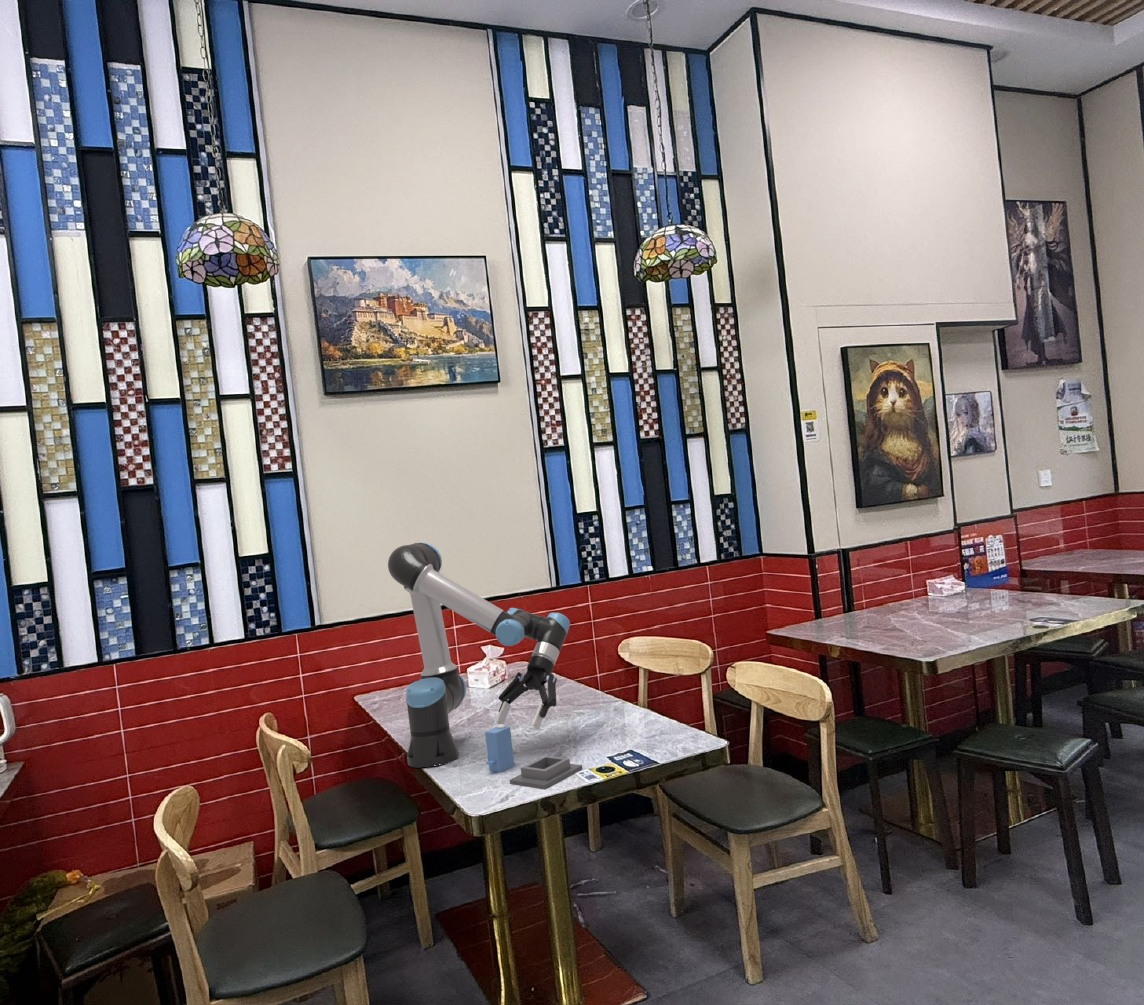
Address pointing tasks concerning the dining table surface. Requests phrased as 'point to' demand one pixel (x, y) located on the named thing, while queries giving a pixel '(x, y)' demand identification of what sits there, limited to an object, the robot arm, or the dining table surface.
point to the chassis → (545, 772)
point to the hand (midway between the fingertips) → (516, 725)
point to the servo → (499, 748)
